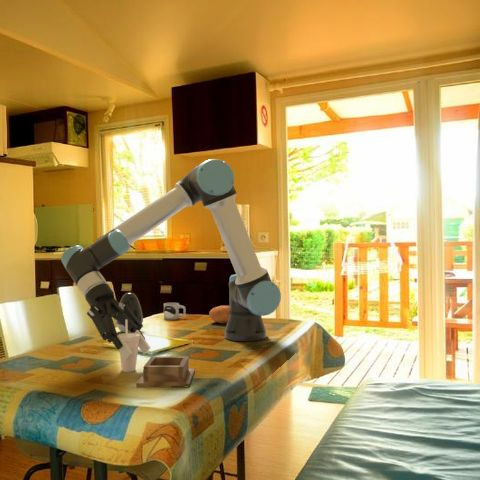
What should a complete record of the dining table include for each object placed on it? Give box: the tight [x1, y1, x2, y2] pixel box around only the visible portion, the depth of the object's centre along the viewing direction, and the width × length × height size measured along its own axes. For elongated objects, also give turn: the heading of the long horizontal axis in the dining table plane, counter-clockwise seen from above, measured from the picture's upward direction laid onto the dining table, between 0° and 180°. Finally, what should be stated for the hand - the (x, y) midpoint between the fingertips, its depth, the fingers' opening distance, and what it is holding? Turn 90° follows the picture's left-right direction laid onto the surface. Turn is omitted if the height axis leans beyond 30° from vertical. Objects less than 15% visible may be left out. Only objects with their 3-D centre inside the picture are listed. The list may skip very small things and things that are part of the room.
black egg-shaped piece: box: [115, 292, 144, 333], centre depth 183 cm, size 10×10×15 cm
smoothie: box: [117, 319, 140, 373], centre depth 131 cm, size 6×6×14 cm
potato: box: [208, 305, 230, 324], centre depth 200 cm, size 9×11×8 cm
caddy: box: [135, 355, 196, 388], centre depth 122 cm, size 13×13×4 cm
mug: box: [163, 302, 187, 321], centre depth 212 cm, size 10×7×7 cm, turn 81°
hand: (138, 353), depth 129 cm, fingers closed on smoothie, 6 cm apart
